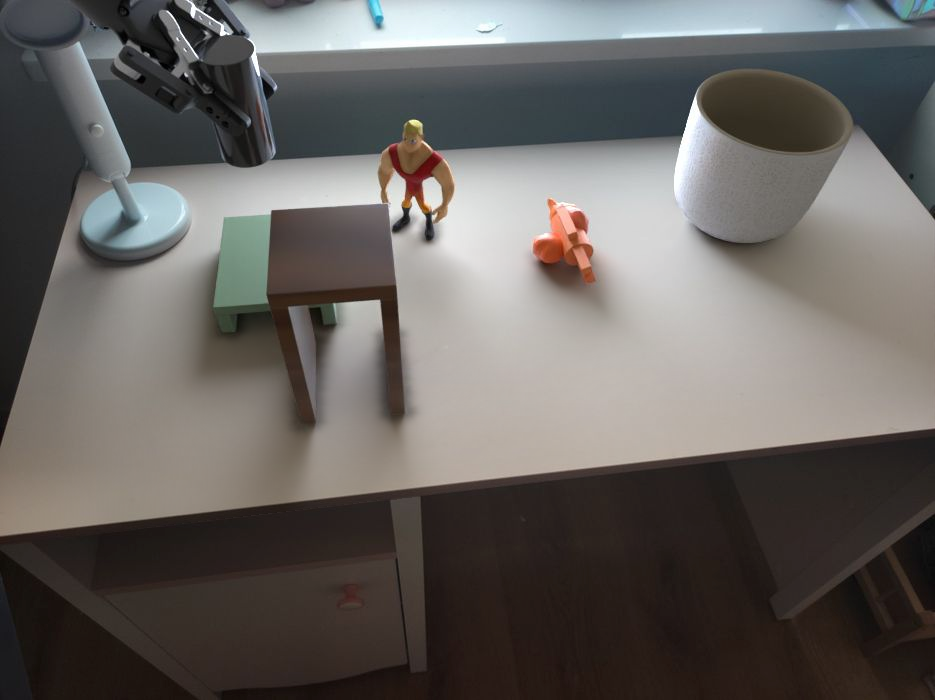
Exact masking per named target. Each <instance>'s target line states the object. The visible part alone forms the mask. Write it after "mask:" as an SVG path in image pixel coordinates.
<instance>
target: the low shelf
mask: <svg viewBox="0 0 935 700" xmlns="http://www.w3.org/2000/svg"><path fill="white" fill-rule="evenodd" d="M270 221H271V213H270V214H256V215H240V216H226V217H225V216H224V217H223V222H222V223H223V224H222V231H221V238H220V249H219V255H218V265H217V271H216V272H217V273H216V279H215V288H214V289H215V290H214V297H213V305H212V308H213V311H214V314H215V317H216V319H217V323H218V325H219V328H220V330H221V333H223V334H226V333H236V331H237V321H238V315H239V314H249V313H261V312H262V313H263V312H271V310H270V307H269V303H268V299H267V296H266V290H267V273H268V256H269V238H270ZM308 308H309V309H314V308H315V309H317V308H319V309H320V313H321V319H322V323H323V326H324V325H336V324H337V320H338V319H337V303H332V304H319V305H308Z"/></svg>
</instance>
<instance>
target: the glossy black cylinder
mask: <svg viewBox="0 0 935 700" xmlns="http://www.w3.org/2000/svg"><path fill="white" fill-rule="evenodd" d="M256 49H257V48H256V45H255V44H254V42H253V41H252V40H250V39H249V38H248V39H247V38H245V37H242V36H237V35H231V34H230V35H221V36H214V37H210V38H208V39H205V40H203V41H201V42H200V43H198V44H197V45H196V46H195V48H194V50H193V51H194V52H195V54H196V55H197V57H198V58H199V59H198V63H199V67H200V69H201V70H202V71H203V73H204V74H205V76H206V77H207V79H208V80H209V82H210V83H211V84H212V86H213V92H214V91H215V90H216V89H218V90H219V91H220V92H222V93H223V94H224V95H225V96H226V97H227V98H228V99H229V100H230V101H231V102H232V103H234V104H235V105H236V106H237V107H238V108H239V109H240V110H241V111H242V112H243V113H244V114H246V115H247V116H248V117H249V118H250V120H251V124H250V125H249V126H248V128H247V129H246V130H245V131H244V132H243V133H242V134H241V135H240V136H238V137H236V136H233V135H232V134H229V133H227V132H225V131H224V130H223V129H221V128H220V126H218V125H217V124H216V123H215V122H214V121H212V120H211V123H212V127H213V131H214V134H215V138H216V142H217V145H218V148H219V151H220V156H221V158H222V160H223V161H224V162H225V163H226V164H227V165H229V166H232V167H235V168H241V169H250V168H256V167H259V166H262V165H265V164H266V163H268V162H269V161H271V160H272V159H273V158H274V156H275V154H276V152H277V146H276V142H275V138H274V137H275V136H274V133H273V132H274V131H273V126H272V122H271V118H270V112H269V108H268V103H267V101H266V98H265V93H264V88H263V83H262V78H261V73H260V69H259V66H260V65H259V60H258V53H257V50H256Z"/></svg>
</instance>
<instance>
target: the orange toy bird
mask: <svg viewBox="0 0 935 700" xmlns="http://www.w3.org/2000/svg"><path fill="white" fill-rule="evenodd" d="M547 206H548V210H549V213H548V217H549V222H550V223H549V226H550V229H551V230H552V232H544V233H543V234H542V235H536V236H535V237H534V238H533V242H532V253H533V254H534V256H535V257H536V258H537V259H539V260H541V261H542V262H543V263H545V264H553V263H557V262H560V261H561V260H562V259H563V258H564V261H565V263H566V264H568V265H570V266H577V267H578V269H579V272H580V273H581V276H582V278H583V280H584V283H585V284H586V285H589V284H592V283H594V282H596V276H595V274H594V271H593V266H592V264H591V262H590V259H591V258H592V257H593V255H594V247H593V245H592V243H591V241H590V239H589V236H588V232H589V218H588V215H587V214H586V213H585V212H584V211H583V210H581V209H580V208H579V207H578V206H577V205H576V204H574V203H565V202H557V201H556V200H555V199H553V198H552V197H550V198H548V199H547Z"/></svg>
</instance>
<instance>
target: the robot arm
mask: <svg viewBox="0 0 935 700" xmlns="http://www.w3.org/2000/svg"><path fill="white" fill-rule="evenodd" d="M67 1H68V2H69V3H70V4H71V5H72V6H73V7H74V8H75V9H77V11H79V12H80V13H81V14H82V15H84V16H85V17H86V18H87V19H88V20H89V21H90V22H91V23H92V24H93V25H95V27H97V28H98V29H100V30H102V31H110V30H111V31H112V32H113V33H114V34H115V35H116V36H117V38H118V39H119V42H120V43H121V45H122V46H123V47H122V48H121V50H120V51H119V53H117V55H116V57H115V58H114V60H113V61H112V62H111V63H110V66H109V70H110V72H111V73H112V74H113V75H114V76H115V77H117V78H119V79H120V80H122V81H123V82H125V83H126V84H128V85H129V86H130V87H133V88H134V89H136V90H137V91H139V92H141V93H142V94H143V95H145V96H147V97H148V98H150V99H151V100H153V101H155V102H156V103H157V104H159V105H161V106H162V107H164V108H166V109H168V110H169V111H171V112H172V113H173V114H175V115H181V114H183V112H184V111H187V110H191V109H197V110H199V111H201V112H202V113H203V114H205V115H206V117H207V118H209V119H210V120H211V122H212V121H214V122H215V123H216V124H217V125H218V126H220V128H221V129H223V130H224V131H225V132H227V133H229V134H232V135H233V136H236V137H238V136H240V135H241V134H242V133H243V132H244V131H245V130H246V129H247V128H248V126H249V125H250V124H251V120H250V118H249V117H248V116H247V115H246V114H244V113H243V112H242V111H241V110H240V109H239V108H238V107H237V106H236V105H235V104H234V103H232V102H231V101H230V100H229V99H228V98H227V97H226V96H225V95H224V94H223V93H222V92H220V91H219V90H218V89H216V90H215V91H214V92H213V86H212V84H211V83H210V82H209V80H208V79H207V77H206V76H205V74H204V73H203V71H202V70H201V69H200V67H199V63H198V59H199V58H198V57H197V55H196V54H195V52H194V51H193V50H194V48H195V46H196V45H197V44H198V43H200V42H201V41H203V40H205V39H208V38H210V37H214V36H221V35H237V36H242V37H245V38H247V39H249V38H250V36H251V33H250V31H249V30H248V28H247V27H246V26H245V24H244V23H243V22H242V21H241V19H240V18H239V17H238V16H237V14H236V13H235V12H234V10H233V9H232V8H231V7H230V5H228V2H226V0H67ZM224 23H226V25H227V26H228V28H229V29H230V30H231V31H232V33H230V32H229V31H228V30H227V29H226V27H225V25H224ZM206 33H207V34H206ZM259 69H260V73H261V78H262V83H263V88H264V93H265V98H266V102H267V101H268V100H269V99H270V98H271V97H273V95H274V94H275V93H276V91H278V86H277V85H278V84H276V82H275V81H274V80H273V78H272V76H271V75H270V74H269V73H268V72H266V70H264V68H262V67H261V65H259ZM189 79H190V80H189ZM165 88H166V89H165ZM168 90H169V91H168ZM171 92H172V93H171ZM12 615H13V614H12V612H11V607H10V604H9V600H8V596H7V593H6V589H5V585H4V581H3V577H2V574H1V572H0V700H34V696H33V693H32V689H31V688H32V687H31V685H30V684H31V683H30V679H29V675H28V672H27V668H26V665H25V660H24V657H23V653H22V648H21V645H20V642H19V638H18V633H17V631H16V626H15V623H14V619H13V616H12Z"/></svg>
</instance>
